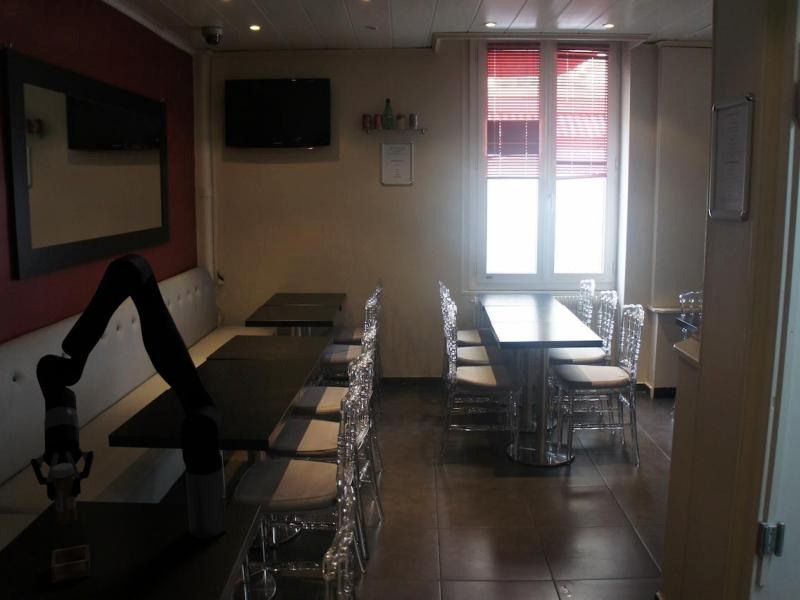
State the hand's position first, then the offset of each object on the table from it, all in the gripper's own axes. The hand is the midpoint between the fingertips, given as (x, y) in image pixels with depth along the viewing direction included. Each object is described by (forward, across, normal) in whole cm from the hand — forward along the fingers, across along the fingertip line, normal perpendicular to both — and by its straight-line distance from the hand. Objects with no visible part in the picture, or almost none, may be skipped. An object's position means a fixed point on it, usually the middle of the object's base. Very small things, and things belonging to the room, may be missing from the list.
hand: (64, 497), depth 172 cm
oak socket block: (+12, 0, +15) cm, 19 cm away
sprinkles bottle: (+3, 0, +6) cm, 7 cm away
